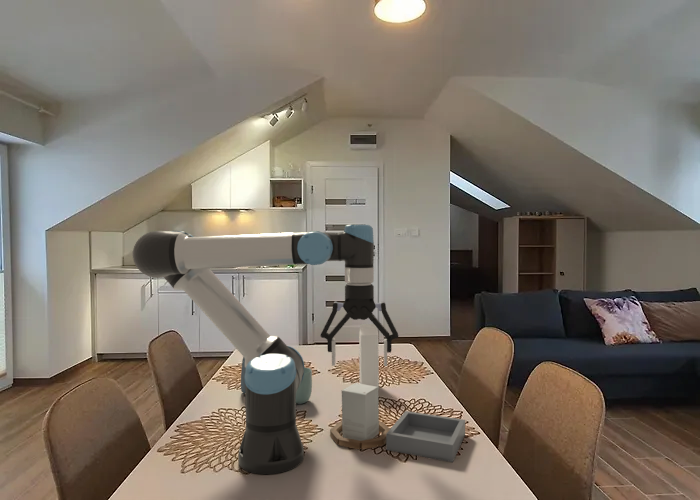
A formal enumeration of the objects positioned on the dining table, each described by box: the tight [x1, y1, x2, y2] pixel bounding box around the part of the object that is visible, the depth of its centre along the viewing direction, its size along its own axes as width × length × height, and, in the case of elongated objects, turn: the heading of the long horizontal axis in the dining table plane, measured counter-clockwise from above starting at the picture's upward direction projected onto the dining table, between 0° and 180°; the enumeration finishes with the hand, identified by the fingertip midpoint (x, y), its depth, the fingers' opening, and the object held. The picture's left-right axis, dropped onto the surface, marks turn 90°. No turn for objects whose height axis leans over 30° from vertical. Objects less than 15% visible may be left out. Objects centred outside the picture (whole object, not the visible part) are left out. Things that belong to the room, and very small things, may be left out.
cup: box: [296, 366, 313, 405], centre depth 148 cm, size 8×8×10 cm
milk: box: [358, 323, 380, 390], centre depth 161 cm, size 6×6×22 cm
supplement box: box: [341, 382, 380, 441], centre depth 122 cm, size 7×7×13 cm
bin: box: [385, 410, 466, 463], centre depth 118 cm, size 16×16×4 cm
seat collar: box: [329, 420, 391, 450], centre depth 122 cm, size 15×15×2 cm
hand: (359, 364), depth 122 cm, fingers open, 13 cm apart
